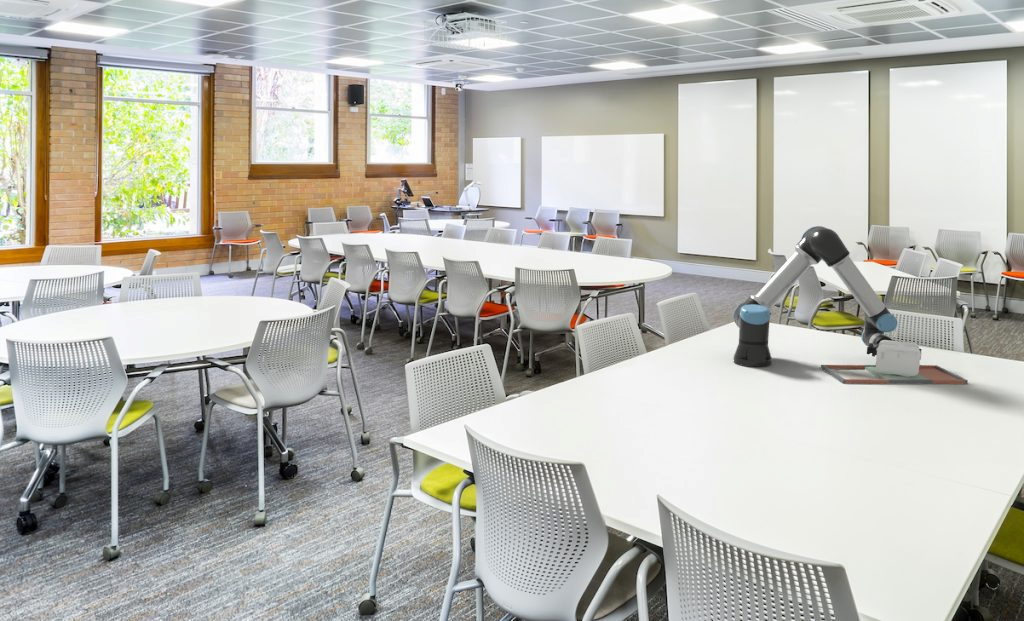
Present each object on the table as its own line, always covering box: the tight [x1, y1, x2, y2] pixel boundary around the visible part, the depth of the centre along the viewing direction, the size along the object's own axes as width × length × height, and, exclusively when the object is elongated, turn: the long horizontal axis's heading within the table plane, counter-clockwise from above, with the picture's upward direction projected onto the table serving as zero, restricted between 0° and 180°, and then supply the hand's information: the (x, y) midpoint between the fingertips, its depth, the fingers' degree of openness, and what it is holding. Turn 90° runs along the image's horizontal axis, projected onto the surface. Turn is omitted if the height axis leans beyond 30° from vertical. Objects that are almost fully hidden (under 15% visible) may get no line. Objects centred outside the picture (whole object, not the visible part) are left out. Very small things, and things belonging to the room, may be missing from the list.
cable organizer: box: [875, 340, 922, 377], centre depth 305 cm, size 15×11×12 cm
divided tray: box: [820, 364, 969, 385], centre depth 306 cm, size 46×23×1 cm, turn 89°
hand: (901, 356), depth 301 cm, fingers open, 13 cm apart
